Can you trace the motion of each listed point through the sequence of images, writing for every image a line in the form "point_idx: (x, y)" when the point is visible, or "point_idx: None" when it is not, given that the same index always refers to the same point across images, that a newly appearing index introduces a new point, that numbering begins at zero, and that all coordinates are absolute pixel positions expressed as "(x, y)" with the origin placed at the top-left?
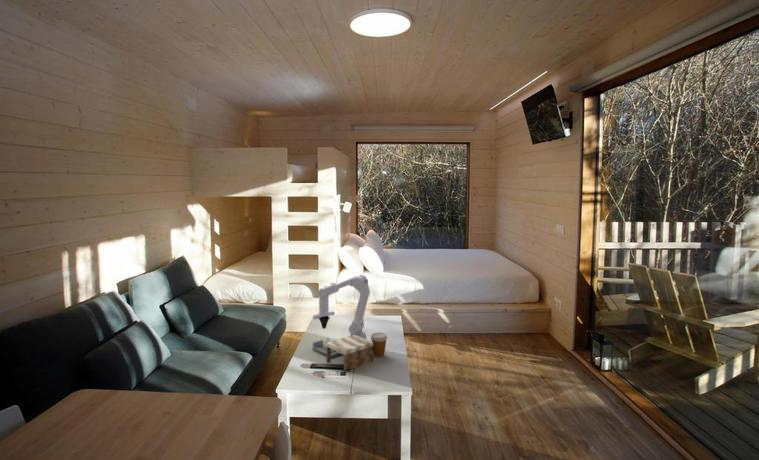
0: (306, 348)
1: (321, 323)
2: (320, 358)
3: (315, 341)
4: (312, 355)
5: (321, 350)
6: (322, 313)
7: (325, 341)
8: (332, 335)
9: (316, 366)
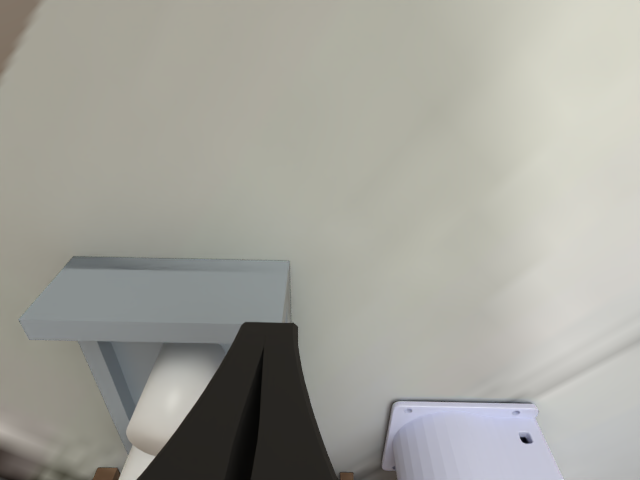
0: (5, 185)
1: (191, 428)
2: (75, 418)
3: (65, 322)
4: (26, 353)
5: (104, 400)
6: None
7: (144, 450)
8: (622, 4)
9: (6, 472)
